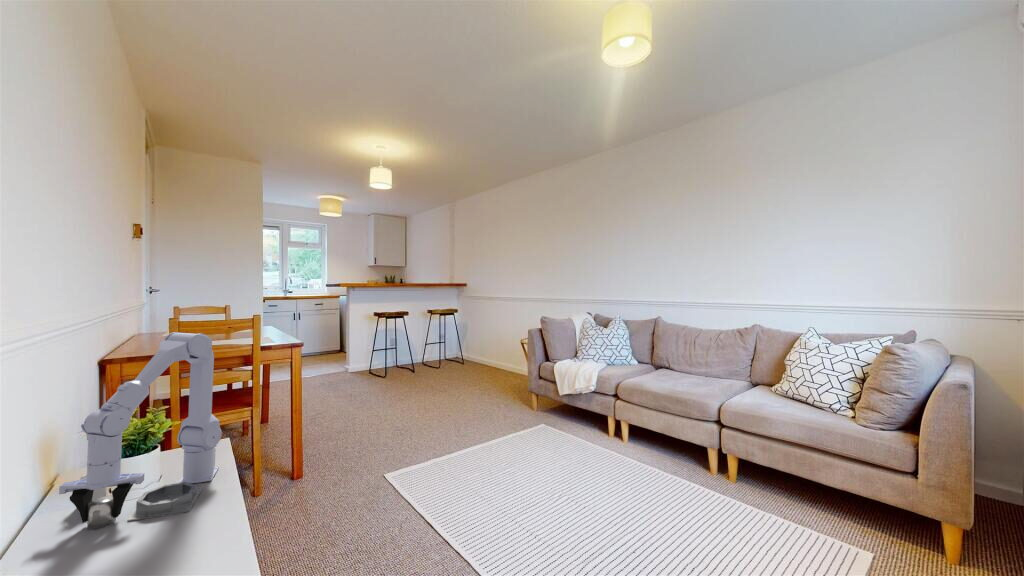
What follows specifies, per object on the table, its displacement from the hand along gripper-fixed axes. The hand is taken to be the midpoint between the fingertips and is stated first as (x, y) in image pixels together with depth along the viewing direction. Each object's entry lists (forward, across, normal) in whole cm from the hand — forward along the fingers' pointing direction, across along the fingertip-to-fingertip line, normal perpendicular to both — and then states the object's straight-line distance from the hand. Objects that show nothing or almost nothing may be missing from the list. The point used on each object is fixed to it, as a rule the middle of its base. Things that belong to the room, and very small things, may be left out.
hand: (101, 517), depth 96 cm
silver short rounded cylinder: (+1, 0, 0) cm, 1 cm away
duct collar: (+1, +11, +5) cm, 12 cm away
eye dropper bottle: (+2, -6, +11) cm, 13 cm away
